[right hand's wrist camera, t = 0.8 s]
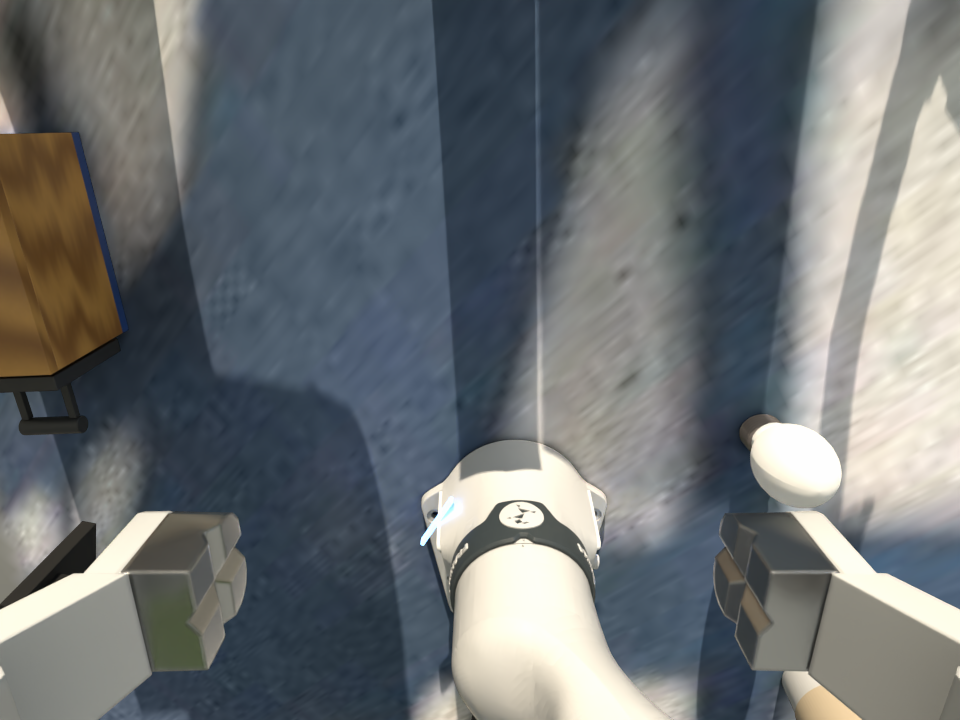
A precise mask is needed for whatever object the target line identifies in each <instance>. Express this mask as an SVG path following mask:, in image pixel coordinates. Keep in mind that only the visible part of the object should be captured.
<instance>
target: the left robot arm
mask: <svg viewBox="0 0 960 720" xmlns="http://www.w3.org/2000/svg"><path fill="white" fill-rule="evenodd" d="M95 560H96V524H95V523H90V522H85V521H82V522H81V523H80V524H79V525H78V526H77V527H76V528H75V529H74V530H73V531H72V532H71V533H70V534H69V535H68V536H67V537H66V538H65V539H64V540H63V541H62V542H61V543H60V544H59V545H58V546H57V547H56V548H55V549H54V550H53V551H52V552H51V553H50V554H49V555H48V556H47V557H46V558H45V559H44V560H43V561H42V562H41V563H40V564H39V565H38V566H37V567H36V568H35V569H34V570H33V572H32V573H31V574H30V575H29V576H28V577H27V578H26V579H25V580H24V581H23V582H22V583H21V584H20V585H19V586H18V587H17V588H16V589H15V590H14V591H13V592H12V593H11V594H10V595H9V596H8V597H7V598H6V599H5V600H4V601H3V602H2V603H1V604H0V609H2V608H4V607H6V606H8V605H10V604H13V603H15V602H17V601H19V600H21V599H23V598H25V597H27V596H29V595H31V594H33V593H35V592H37V591H39V590H41V589H43V588H45V587H47V586H49V585H51V584H53V583H55V582H57V581H59V580H61V579H63V578H65V577H67V576H69V575H71V574H73V573H84V572H85V571H86V570H87V569H88V568H89V566H90V565H91V564H92V563H93V562H94V561H95Z"/></svg>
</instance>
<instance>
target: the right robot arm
mask: <svg viewBox="0 0 960 720" xmlns="http://www.w3.org/2000/svg"><path fill="white" fill-rule="evenodd" d="M421 506H422V512H423V515H424V519H425V522H426V526H427V529H428V530H427V531H426V532H425V534H424V535H423V537H422V538H421V545H423V546H424V544H425V543H426V541H427V540H428V538H429V537H430V540H431V544H432V547H433V551H434V554H435V558H436V561H437V565H438V569H439V572H440V576H441V579H442V583H443V586H444V590H445V593H446V597H447V601H448V604H449V607H450V610H451V611H452V612H453V613H454V625H453V644H452V663H451V665H452V674H453V679H454V682H455V685H456V688H457V691H458V692H459V694H460V696H461V698H462V700H463V701H464V703H465V704H466V706H467V707H468V709H469V710H470V712H471V713H472V714H473V716H472V720H673V719H672V718H671V717H669V716H668V715H667V714H666V713H664V712H663V711H662V710H661V709H659V708H658V707H657V706H656V705H655V704H654V703H653V702H651V701H650V700H649V699H648V698H647V697H646V696H645V695H644V694H643V693H642V692H641V691H640V690H639V689H638V688H637V687H636V686H635V685H634V684H633V683H632V682H631V680H630V679H629V678H628V677H627V676H626V675H625V673H624V672H623V671H622V670H621V668H620V667H619V666H618V664H617V663H616V661H615V659H614V658H613V656H612V654H611V653H610V650H609V648H608V645H607V643H606V640H605V637H604V634H603V632H602V629H601V626H600V622H599V619H598V616H597V613H596V609H595V606H594V600H595V577H594V573H593V569H598V567H599V555H598V554H596V552H597V550H599V549H600V547H601V541H600V536H599V532H600V528H601V525H602V522H603V519H604V515H605V512H606V509H607V499H606V496H605V494H604V493H603V492H602V491H601V490H599V489H598V488H596V487H594V486H593V485H591V484H589V483H587V482H586V481H585V480H584V479H583V478H582V477H581V476H580V475H579V473H578V472H577V470H576V469H575V468H574V466H573V465H572V464H571V463H570V462H569V461H568V460H567V459H566V458H565V457H564V456H563V455H562V454H560V453H559V452H557V451H556V450H554V449H552V448H550V447H548V446H546V445H543V444H540V443H537V442H533V441H527V440H503V441H498V442H494V443H490V444H487V445H485V446H482V447H480V448H478V449H476V450H475V451H473V452H471V453H470V454H468V455H467V456H466V457H465V458H464V459H462V460H461V461H460V462H459V463H458V464H457V466H456V467H455V468H454V469H453V471H452V472H451V474H450V475H449V476H448V478H447V479H446V480H445V481H444V482H443V483H441V484H439V485H437V486H436V487H434V488H432V489H431V490H429V491H428V492H427V493H425V494H424V496H423V497H422V500H421ZM594 511H595V512H594ZM433 512H438V515H434V514H433ZM240 536H241V531H240V526H239V521H238V517H237V516H236V515H235V514H234V513H230V512H183V511H175V512H171V511H145V512H141V513H138V514H137V515H136V516H135V517H134V518H133V519H132V520H131V521H130V522H129V523H128V524H127V526H126V527H125V528H124V529H123V530H122V531H121V532H120V533H119V534H118V535H117V537H116V538H115V539H114V540H113V541H112V542H111V543H110V544H109V545H108V547H107V548H106V549H105V550H104V551H103V552H102V553H101V554H100V555H99V557H98V558H97V559H96V560H95V561H94V562H93V563H92V564H91V565H90V566H89V568H88V569H87V570H86V571H85V572H84V573H73V574H71V575H69V576H67V577H65V578H63V579H61V580H59V581H57V582H55V583H53V584H51V585H49V586H47V587H45V588H43V589H41V590H39V591H37V592H35V593H33V594H31V595H29V596H27V597H25V598H23V599H21V600H19V601H17V602H15V603H13V604H10V605H8V606H6V607H4V608H2V609H0V720H98V719H99V718H101V717H102V716H103V715H104V714H105V713H107V712H108V711H109V710H110V709H111V708H113V707H114V706H115V705H116V704H117V703H119V702H120V701H121V700H122V699H123V698H125V697H126V696H127V695H128V694H129V693H131V692H132V691H133V690H134V689H135V688H137V687H138V686H139V685H140V684H141V683H143V682H144V681H145V680H146V679H147V678H149V677H150V676H151V675H152V672H157V671H191V670H208V669H209V667H210V665H211V663H212V662H213V660H214V658H215V656H216V654H217V652H218V650H219V648H220V646H221V644H222V642H223V640H224V638H225V632H224V626H223V624H224V623H226V622H227V621H228V620H230V619H231V618H233V617H234V616H236V614H237V612H238V610H239V608H240V606H241V604H242V601H243V597H244V592H245V588H246V578H247V568H246V562H245V557H244V556H243V555H242V554H241V552H240V551H239V550H238V549H237V548H236V547H235V544H236V543H237V541H238V539H239V538H240ZM719 536H720V538H721V539H722V541H723V543H724V544H725V547H724V548H723V549H722V550H721V551H720V552H719V554H718V555H717V556H716V557H715V562H714V571H713V578H714V589H715V594H716V597H717V601H718V604H719V606H720V608H721V610H722V612H723V614H724V616H726V617H727V618H729V619H730V620H732V621H733V622H734V623H736V624H737V626H736V632H735V638H736V640H737V642H738V644H739V646H740V648H741V650H742V652H743V654H744V656H745V658H746V659H747V661H748V663H749V665H750V667H751V669H752V670H767V671H803V672H808V675H809V676H811V677H812V678H813V679H814V680H815V681H817V682H818V683H819V684H820V685H821V686H823V687H824V688H825V689H826V690H827V691H829V692H830V693H831V694H832V695H833V696H835V697H836V698H837V699H838V700H839V701H840V702H842V703H843V704H844V705H845V706H846V707H848V708H849V709H850V710H851V711H852V712H854V713H855V714H856V715H857V716H858V717H860V718H861V719H862V720H960V610H959V609H957V608H955V607H953V606H951V605H949V604H947V603H945V602H943V601H941V600H939V599H937V598H935V597H933V596H931V595H929V594H927V593H925V592H923V591H921V590H919V589H917V588H915V587H913V586H911V585H909V584H907V583H905V582H903V581H901V580H899V579H897V578H895V577H893V576H891V575H889V574H887V573H876V572H875V571H874V570H873V569H872V568H871V566H870V565H869V564H868V563H867V562H866V561H865V560H864V559H863V558H862V557H861V555H860V554H859V553H858V552H857V551H856V550H855V549H854V548H853V547H852V545H851V544H850V543H849V542H848V541H847V540H846V539H845V538H844V537H843V535H842V534H841V533H840V532H839V531H838V530H837V529H836V528H835V527H834V526H833V524H832V523H831V522H830V521H829V520H828V519H827V518H826V517H825V516H824V514H822V513H819V512H817V511H794V512H776V513H725V514H724V516H723V518H722V520H721V524H720V530H719Z"/></svg>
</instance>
